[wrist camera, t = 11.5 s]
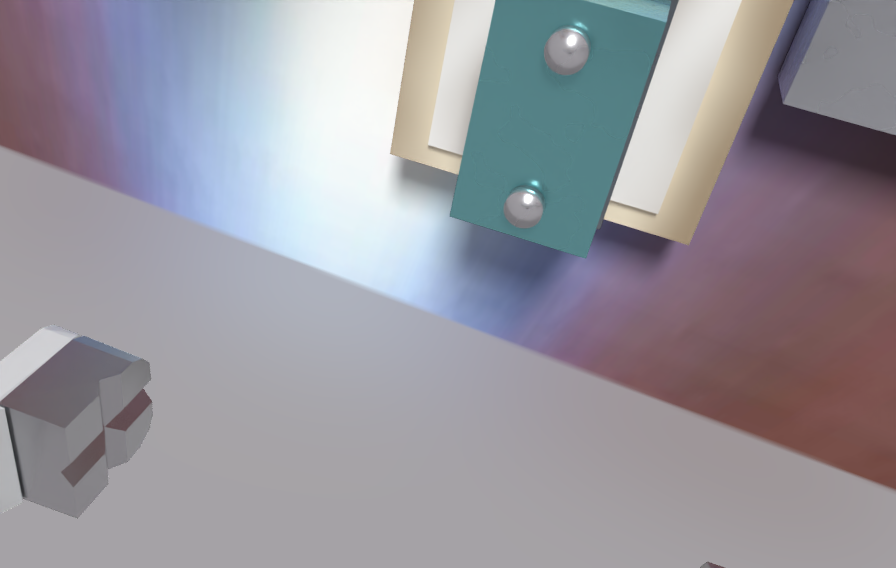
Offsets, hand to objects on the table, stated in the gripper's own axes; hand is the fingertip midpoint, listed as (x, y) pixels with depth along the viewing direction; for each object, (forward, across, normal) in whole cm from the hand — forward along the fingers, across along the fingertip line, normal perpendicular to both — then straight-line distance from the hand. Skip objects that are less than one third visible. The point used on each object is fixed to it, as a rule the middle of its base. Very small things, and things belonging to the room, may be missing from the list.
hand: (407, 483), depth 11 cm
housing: (+20, +1, +1) cm, 20 cm away
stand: (+23, +1, +1) cm, 23 cm away
